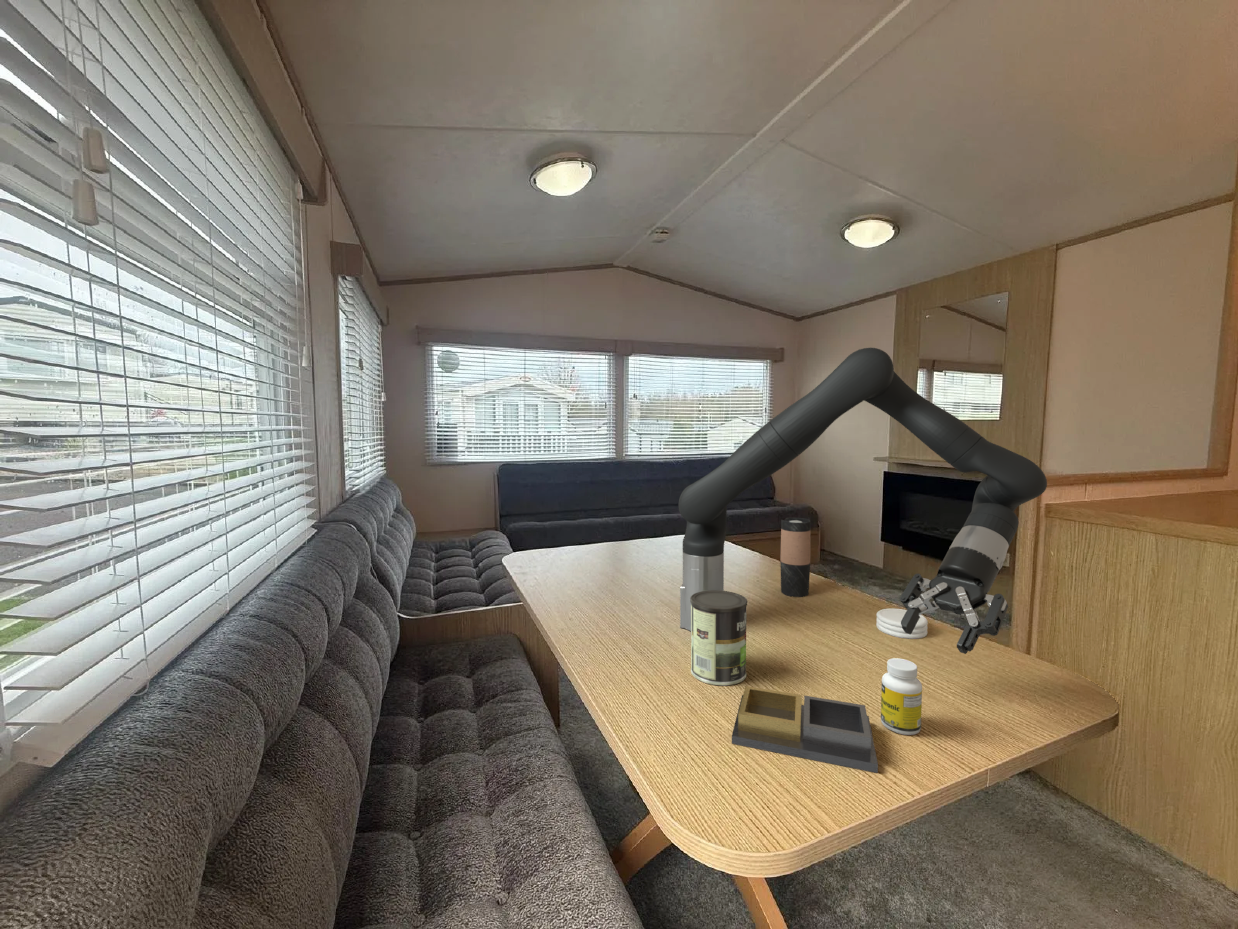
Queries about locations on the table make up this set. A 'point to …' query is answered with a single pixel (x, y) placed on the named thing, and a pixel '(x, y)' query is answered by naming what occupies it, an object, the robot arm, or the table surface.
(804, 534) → the travel mug
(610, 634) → the table surface
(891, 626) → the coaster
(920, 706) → the supplement bottle
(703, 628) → the coffee can
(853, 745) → the two compartment tray
